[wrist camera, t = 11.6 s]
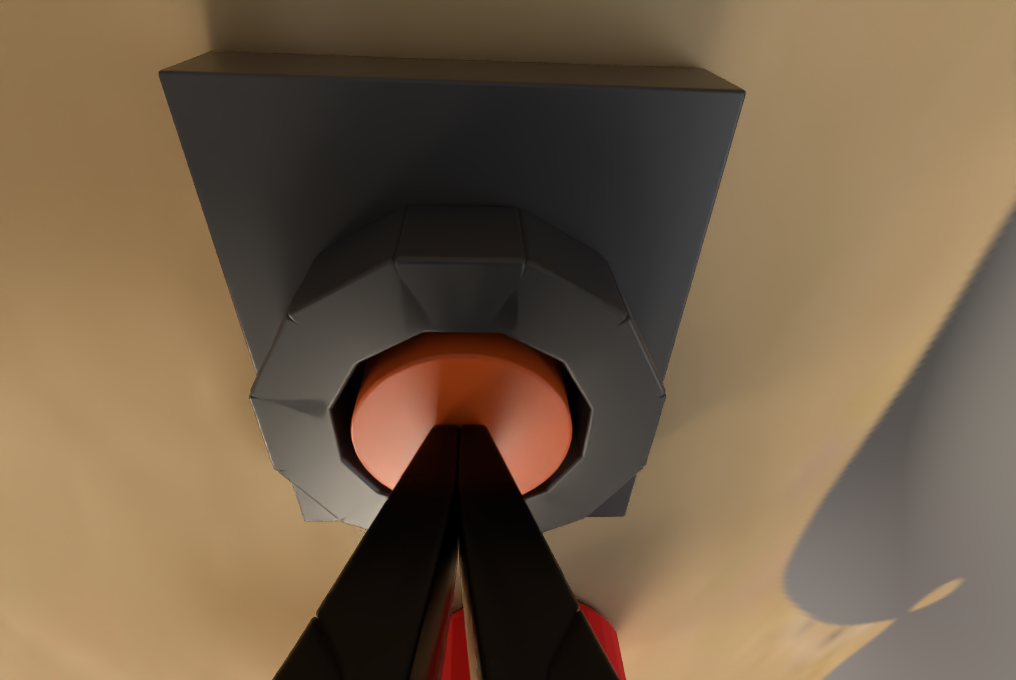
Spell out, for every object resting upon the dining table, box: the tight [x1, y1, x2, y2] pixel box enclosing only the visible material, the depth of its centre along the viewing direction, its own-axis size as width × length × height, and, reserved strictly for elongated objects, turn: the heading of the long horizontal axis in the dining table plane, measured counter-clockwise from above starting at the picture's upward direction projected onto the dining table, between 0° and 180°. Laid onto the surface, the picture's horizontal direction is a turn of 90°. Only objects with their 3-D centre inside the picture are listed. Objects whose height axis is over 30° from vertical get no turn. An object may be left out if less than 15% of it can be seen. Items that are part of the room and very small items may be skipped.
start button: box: [351, 332, 572, 495], centre depth 9 cm, size 4×4×2 cm
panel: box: [159, 51, 746, 532], centre depth 10 cm, size 10×8×4 cm
